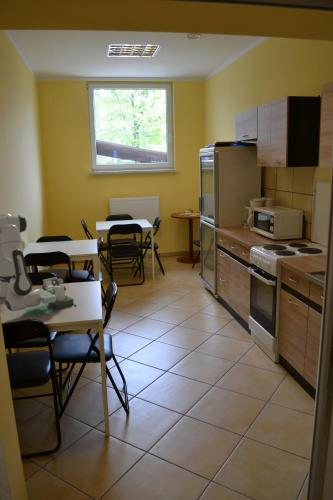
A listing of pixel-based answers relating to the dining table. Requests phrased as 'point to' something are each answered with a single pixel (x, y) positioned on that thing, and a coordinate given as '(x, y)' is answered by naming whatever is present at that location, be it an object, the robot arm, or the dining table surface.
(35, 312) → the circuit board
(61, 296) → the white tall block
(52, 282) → the grey mechanical device
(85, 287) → the dining table surface
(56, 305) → the grey square tray
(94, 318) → the dining table surface
